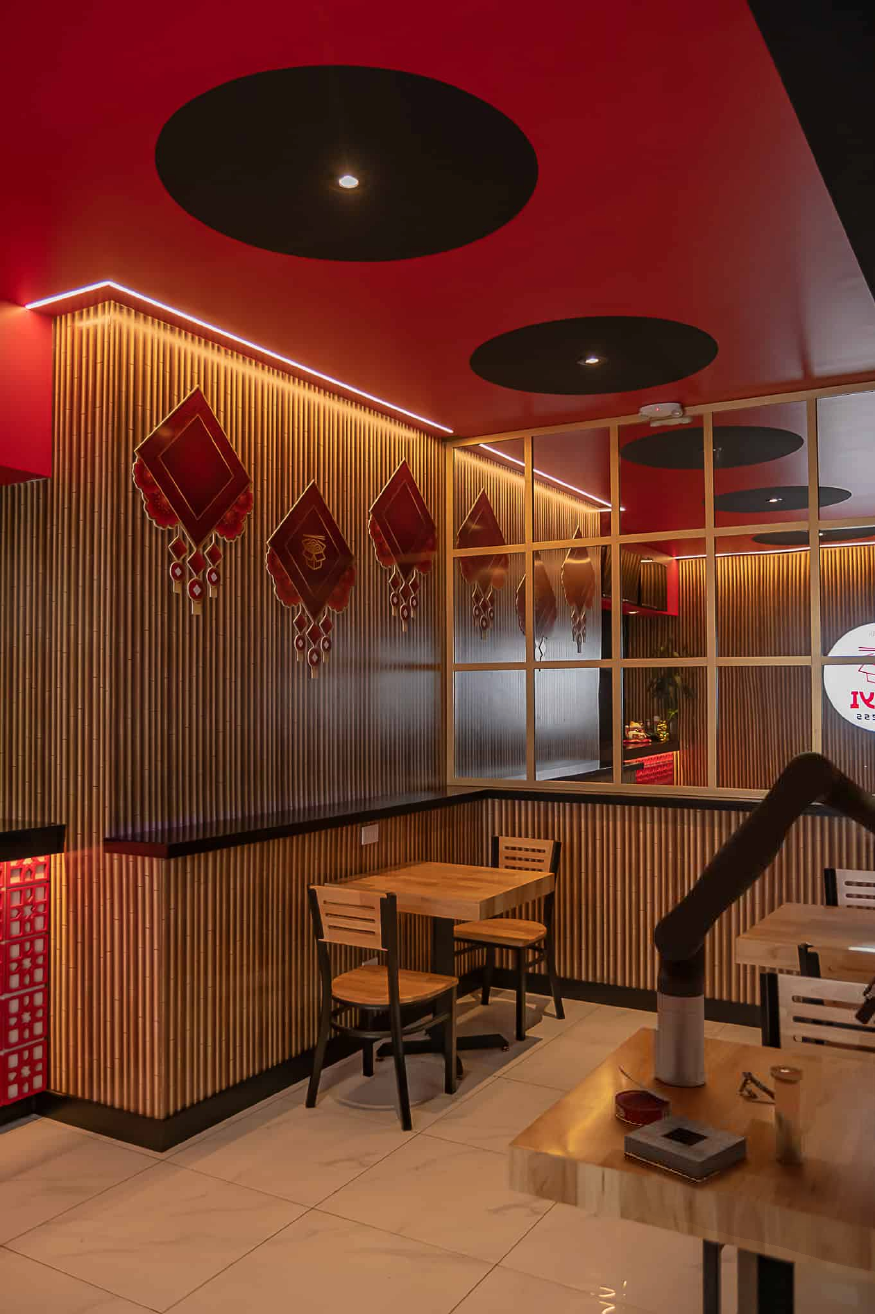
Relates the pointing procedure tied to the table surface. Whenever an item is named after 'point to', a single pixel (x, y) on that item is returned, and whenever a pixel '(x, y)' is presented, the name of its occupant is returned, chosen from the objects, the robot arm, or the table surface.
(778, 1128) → the bushing
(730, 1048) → the table surface
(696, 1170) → the jig
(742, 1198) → the table surface
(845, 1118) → the table surface
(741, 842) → the robot arm
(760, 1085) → the brown turned rod
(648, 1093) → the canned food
